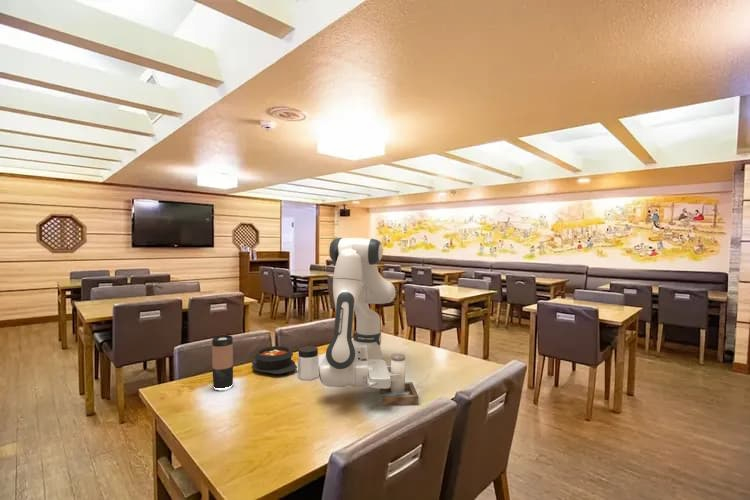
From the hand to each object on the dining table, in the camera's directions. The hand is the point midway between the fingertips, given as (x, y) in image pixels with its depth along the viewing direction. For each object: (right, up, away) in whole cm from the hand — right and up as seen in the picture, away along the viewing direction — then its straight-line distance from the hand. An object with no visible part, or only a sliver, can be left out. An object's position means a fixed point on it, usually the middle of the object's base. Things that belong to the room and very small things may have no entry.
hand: (400, 372), depth 138 cm
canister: (-1, -6, 0) cm, 7 cm away
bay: (-1, -9, 0) cm, 9 cm away
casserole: (-55, -8, +30) cm, 64 cm away
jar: (-38, -9, +21) cm, 44 cm away
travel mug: (-70, -9, +9) cm, 71 cm away
